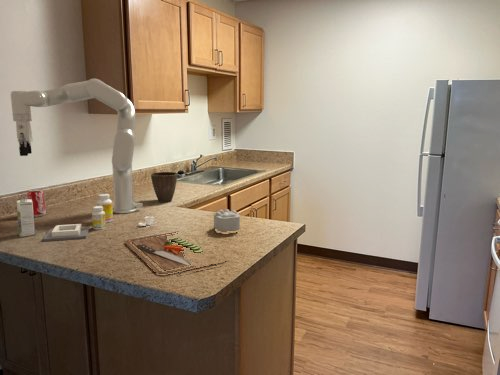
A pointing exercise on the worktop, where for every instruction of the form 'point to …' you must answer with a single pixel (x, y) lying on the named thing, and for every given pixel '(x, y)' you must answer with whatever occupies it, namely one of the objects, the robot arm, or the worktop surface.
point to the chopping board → (163, 251)
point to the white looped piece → (147, 221)
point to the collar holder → (66, 232)
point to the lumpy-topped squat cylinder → (226, 220)
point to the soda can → (37, 201)
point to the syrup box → (25, 217)
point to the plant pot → (164, 185)
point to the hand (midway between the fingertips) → (26, 154)
